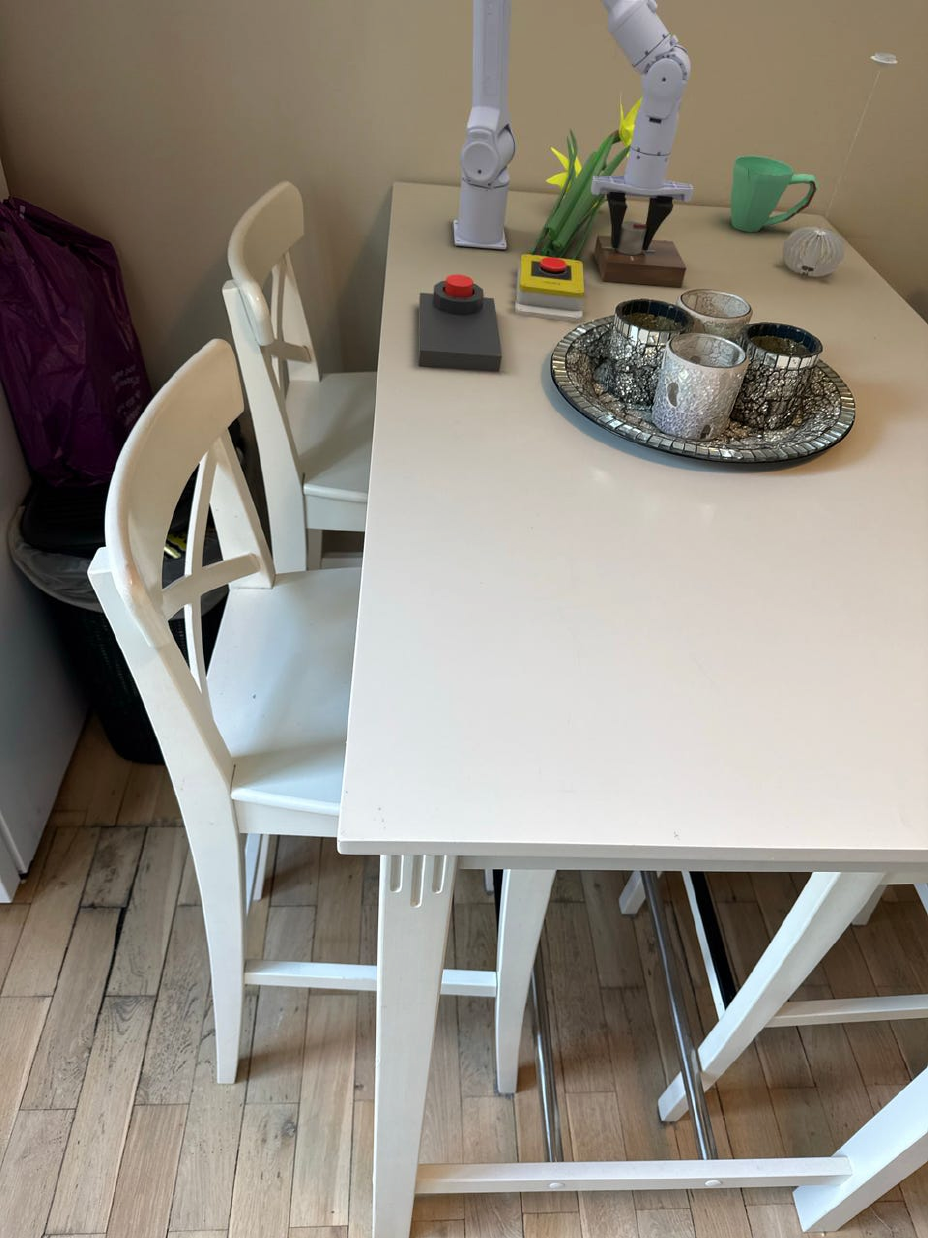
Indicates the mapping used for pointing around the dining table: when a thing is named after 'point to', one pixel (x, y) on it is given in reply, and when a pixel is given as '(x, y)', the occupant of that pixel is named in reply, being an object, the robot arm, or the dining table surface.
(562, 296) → the emergency button
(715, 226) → the dining table surface
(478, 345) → the switch box
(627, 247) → the dimmer knob
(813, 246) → the pendant light
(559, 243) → the daffodil flowers
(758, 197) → the mug
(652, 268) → the dimmer panel
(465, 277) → the light button
